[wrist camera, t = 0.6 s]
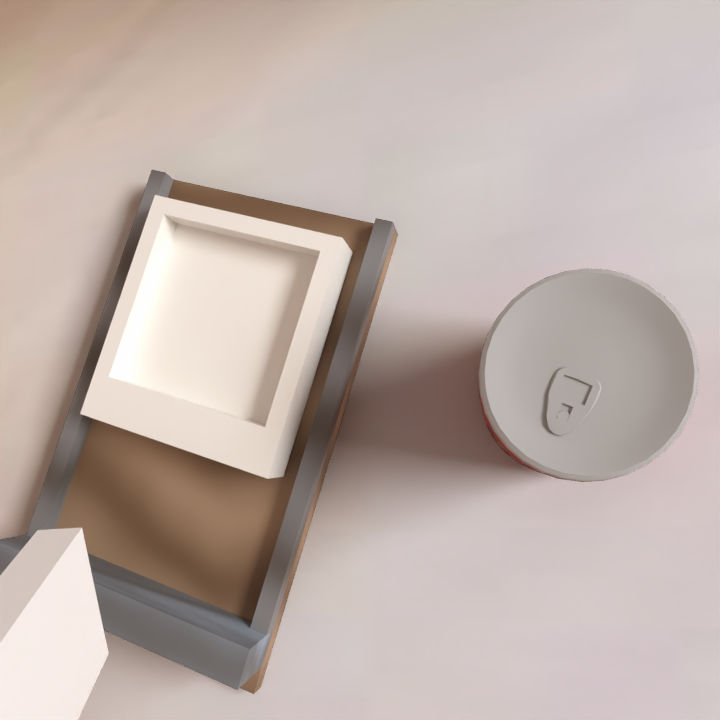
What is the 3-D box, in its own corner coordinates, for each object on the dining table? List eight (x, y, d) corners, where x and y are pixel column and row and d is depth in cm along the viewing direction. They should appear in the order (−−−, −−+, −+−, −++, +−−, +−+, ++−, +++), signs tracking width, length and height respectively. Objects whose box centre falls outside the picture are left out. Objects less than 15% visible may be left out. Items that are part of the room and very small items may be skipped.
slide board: (168, 183, 39) (130, 152, 35) (397, 234, 35) (385, 205, 31) (31, 585, 37) (-27, 602, 33) (260, 686, 33) (227, 720, 29)
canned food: (472, 459, 33) (464, 463, 22) (492, 318, 34) (493, 256, 23) (620, 484, 31) (690, 502, 20) (637, 334, 32) (712, 276, 21)
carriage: (176, 211, 38) (154, 194, 35) (352, 252, 35) (342, 237, 32) (107, 416, 36) (80, 413, 34) (283, 476, 34) (267, 478, 31)
